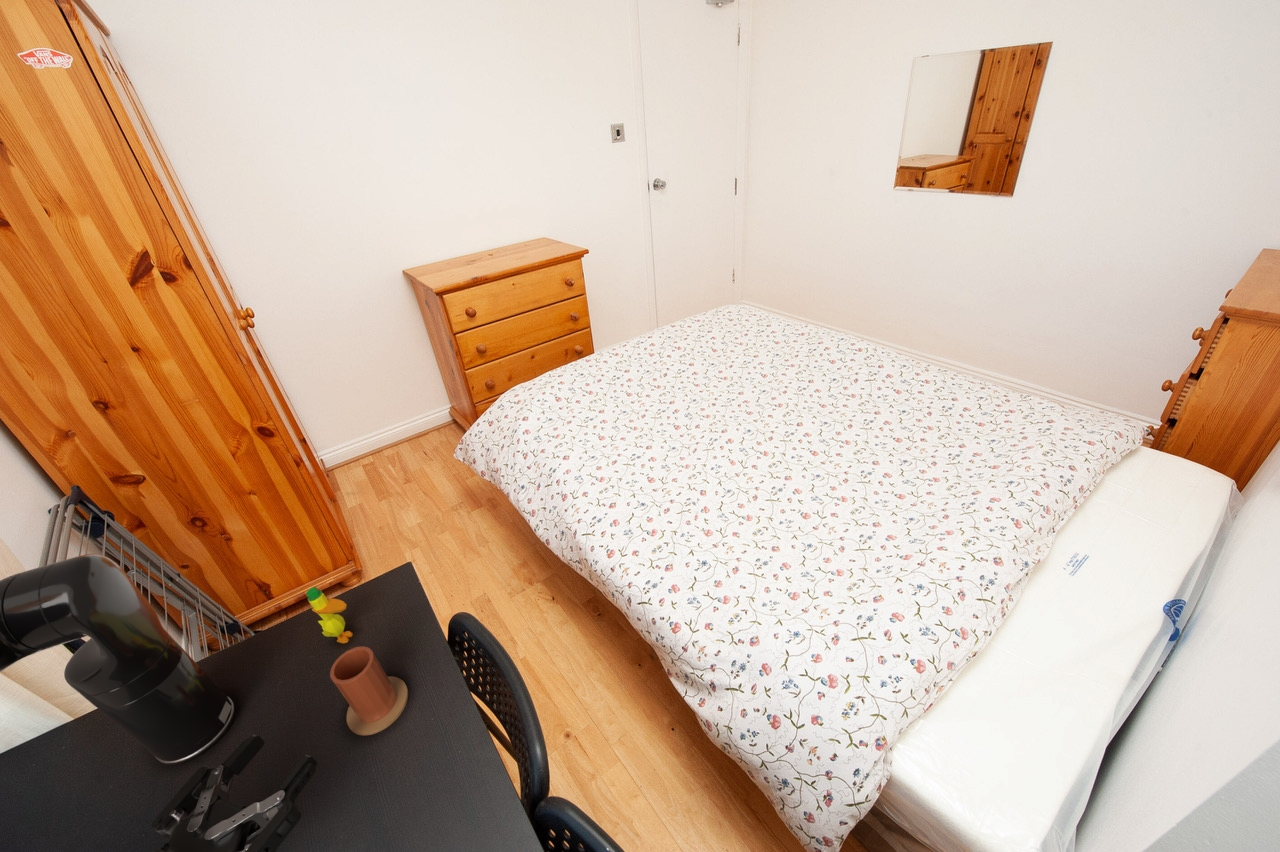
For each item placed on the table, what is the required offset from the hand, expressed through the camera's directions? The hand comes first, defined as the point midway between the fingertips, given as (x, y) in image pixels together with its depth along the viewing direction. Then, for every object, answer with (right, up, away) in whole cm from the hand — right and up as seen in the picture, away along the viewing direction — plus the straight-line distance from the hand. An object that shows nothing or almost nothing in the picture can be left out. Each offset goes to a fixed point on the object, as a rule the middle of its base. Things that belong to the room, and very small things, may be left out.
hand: (285, 747), depth 60 cm
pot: (+4, -2, +13) cm, 14 cm away
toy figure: (-7, +3, +24) cm, 26 cm away
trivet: (+4, -3, +14) cm, 15 cm away
